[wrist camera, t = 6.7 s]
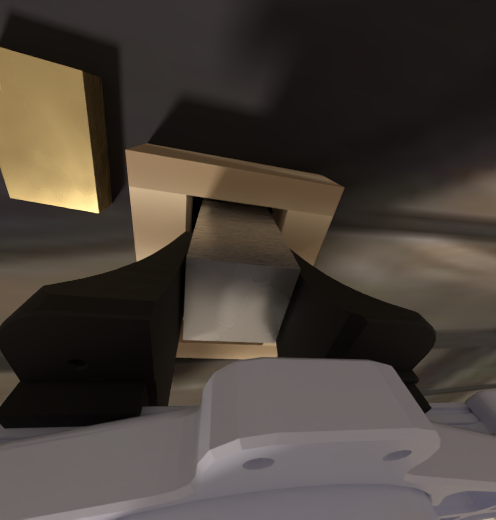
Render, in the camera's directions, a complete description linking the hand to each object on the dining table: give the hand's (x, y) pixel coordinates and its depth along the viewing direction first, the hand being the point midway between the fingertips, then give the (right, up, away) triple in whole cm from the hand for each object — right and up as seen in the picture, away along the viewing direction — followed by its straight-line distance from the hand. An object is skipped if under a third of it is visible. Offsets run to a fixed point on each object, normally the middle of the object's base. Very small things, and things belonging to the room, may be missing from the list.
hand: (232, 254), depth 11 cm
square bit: (0, +2, +2) cm, 3 cm away
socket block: (-1, -1, +5) cm, 5 cm away
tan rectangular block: (-9, +6, 0) cm, 10 cm away
